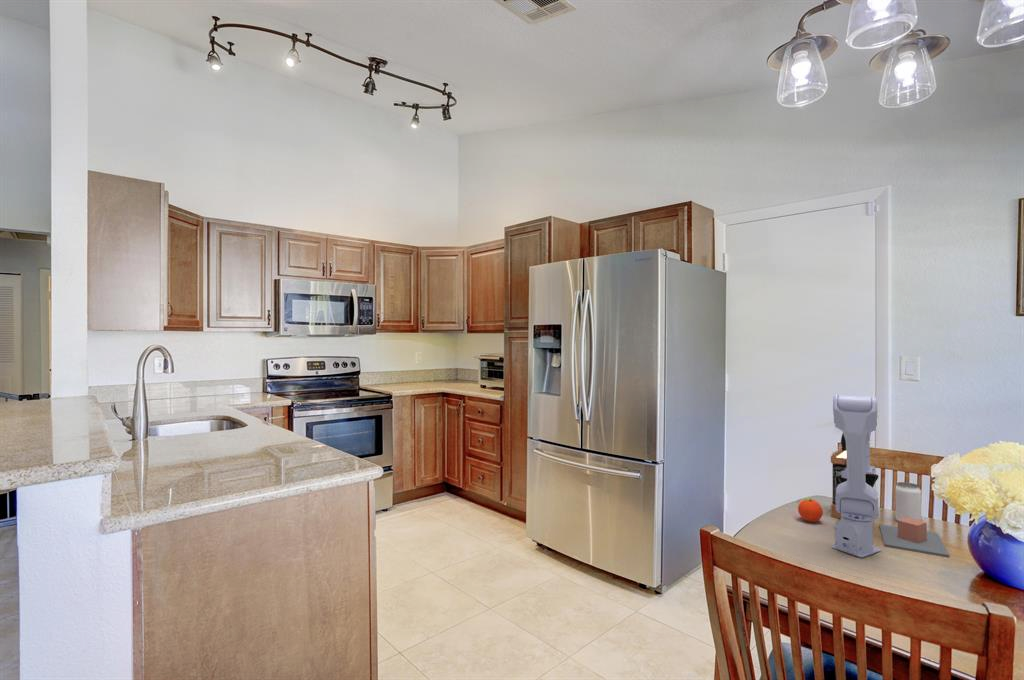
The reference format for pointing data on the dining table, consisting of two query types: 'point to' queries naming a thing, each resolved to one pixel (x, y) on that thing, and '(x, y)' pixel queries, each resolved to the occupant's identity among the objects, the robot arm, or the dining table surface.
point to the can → (908, 501)
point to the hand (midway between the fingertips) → (858, 498)
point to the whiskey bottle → (838, 472)
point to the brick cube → (912, 530)
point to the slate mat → (928, 546)
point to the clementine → (810, 510)
